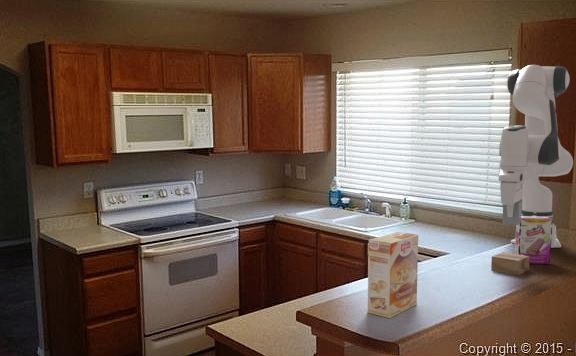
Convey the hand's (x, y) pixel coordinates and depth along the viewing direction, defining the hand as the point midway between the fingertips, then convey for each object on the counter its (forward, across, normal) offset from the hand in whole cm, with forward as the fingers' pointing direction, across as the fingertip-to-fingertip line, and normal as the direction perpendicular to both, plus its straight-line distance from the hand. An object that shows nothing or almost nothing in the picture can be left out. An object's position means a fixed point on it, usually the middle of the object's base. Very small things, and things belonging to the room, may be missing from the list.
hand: (512, 215), depth 188 cm
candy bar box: (+19, -15, +5) cm, 25 cm away
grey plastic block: (+3, 0, 0) cm, 3 cm away
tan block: (+19, 0, 0) cm, 19 cm away
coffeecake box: (+19, +58, -20) cm, 64 cm away
